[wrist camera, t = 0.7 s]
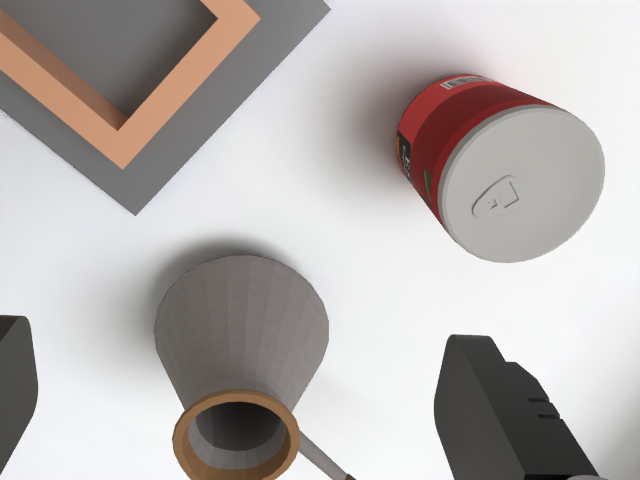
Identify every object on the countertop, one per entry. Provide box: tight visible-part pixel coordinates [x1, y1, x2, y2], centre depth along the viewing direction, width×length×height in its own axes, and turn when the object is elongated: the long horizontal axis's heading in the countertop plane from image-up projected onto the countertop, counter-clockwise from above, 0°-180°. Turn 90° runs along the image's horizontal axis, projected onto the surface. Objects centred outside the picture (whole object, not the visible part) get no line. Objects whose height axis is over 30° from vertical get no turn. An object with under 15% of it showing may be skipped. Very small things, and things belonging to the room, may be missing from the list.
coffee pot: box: [154, 255, 356, 480], centre depth 36 cm, size 21×12×15 cm, turn 52°
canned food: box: [396, 75, 605, 263], centre depth 32 cm, size 8×8×11 cm
